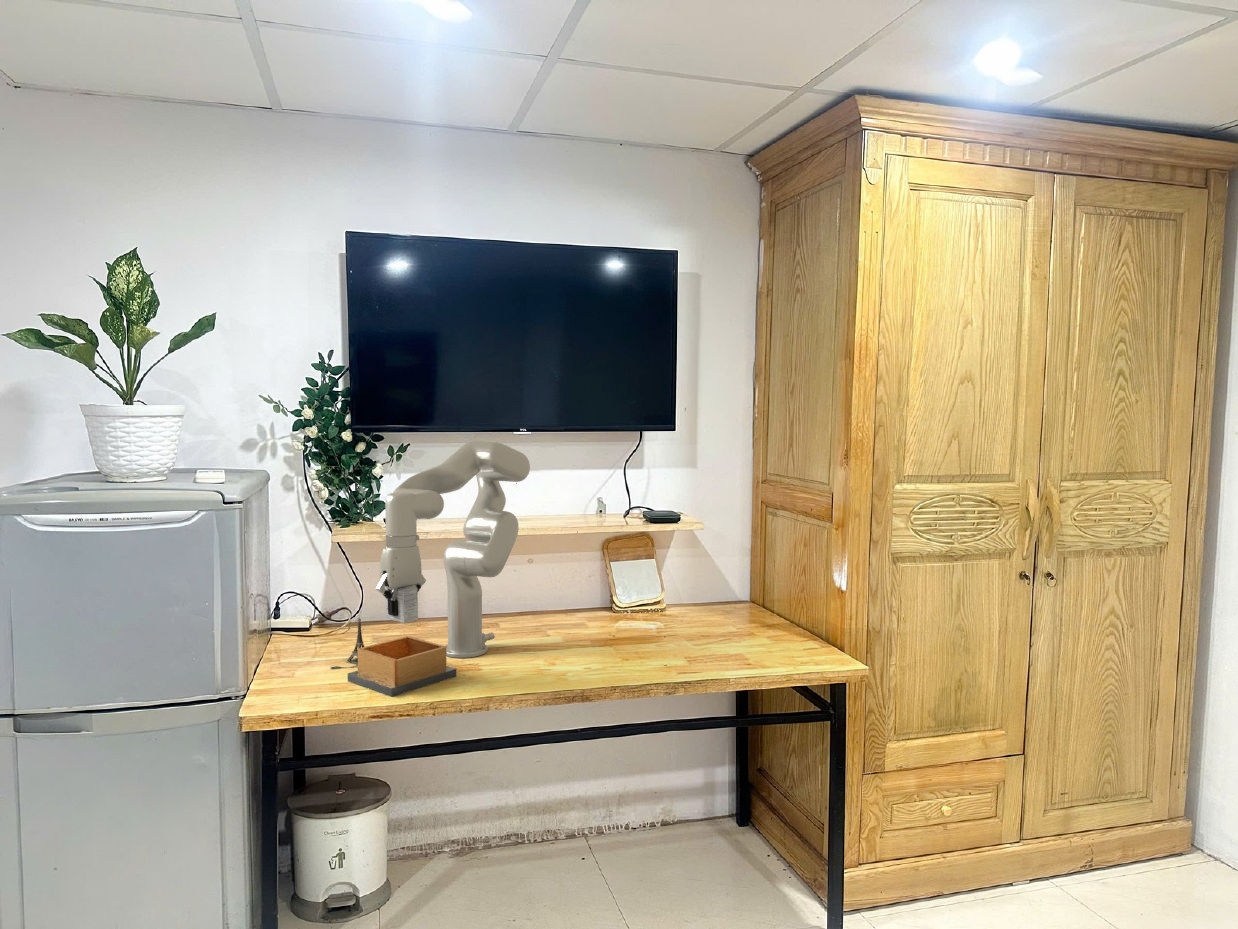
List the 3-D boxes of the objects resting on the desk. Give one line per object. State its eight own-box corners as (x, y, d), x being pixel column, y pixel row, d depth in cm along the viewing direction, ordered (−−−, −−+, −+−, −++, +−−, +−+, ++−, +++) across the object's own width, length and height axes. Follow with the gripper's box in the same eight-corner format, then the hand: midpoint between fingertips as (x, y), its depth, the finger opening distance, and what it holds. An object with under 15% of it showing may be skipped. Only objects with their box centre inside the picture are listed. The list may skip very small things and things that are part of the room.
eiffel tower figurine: (329, 671, 225) (328, 621, 224) (330, 660, 235) (329, 612, 234) (388, 667, 230) (388, 617, 229) (387, 656, 239) (386, 609, 238)
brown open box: (412, 662, 232) (411, 633, 231) (456, 676, 220) (456, 645, 220) (347, 681, 216) (347, 650, 215) (391, 696, 205) (391, 664, 204)
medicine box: (418, 621, 216) (418, 587, 215) (403, 624, 213) (403, 589, 212) (400, 615, 221) (400, 582, 221) (385, 619, 218) (385, 585, 217)
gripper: (418, 536, 225) (419, 605, 226) (363, 544, 211) (364, 617, 213) (437, 539, 220) (437, 609, 221) (382, 547, 207) (382, 622, 208)
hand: (401, 612), depth 217 cm, fingers closed on medicine box, 4 cm apart
